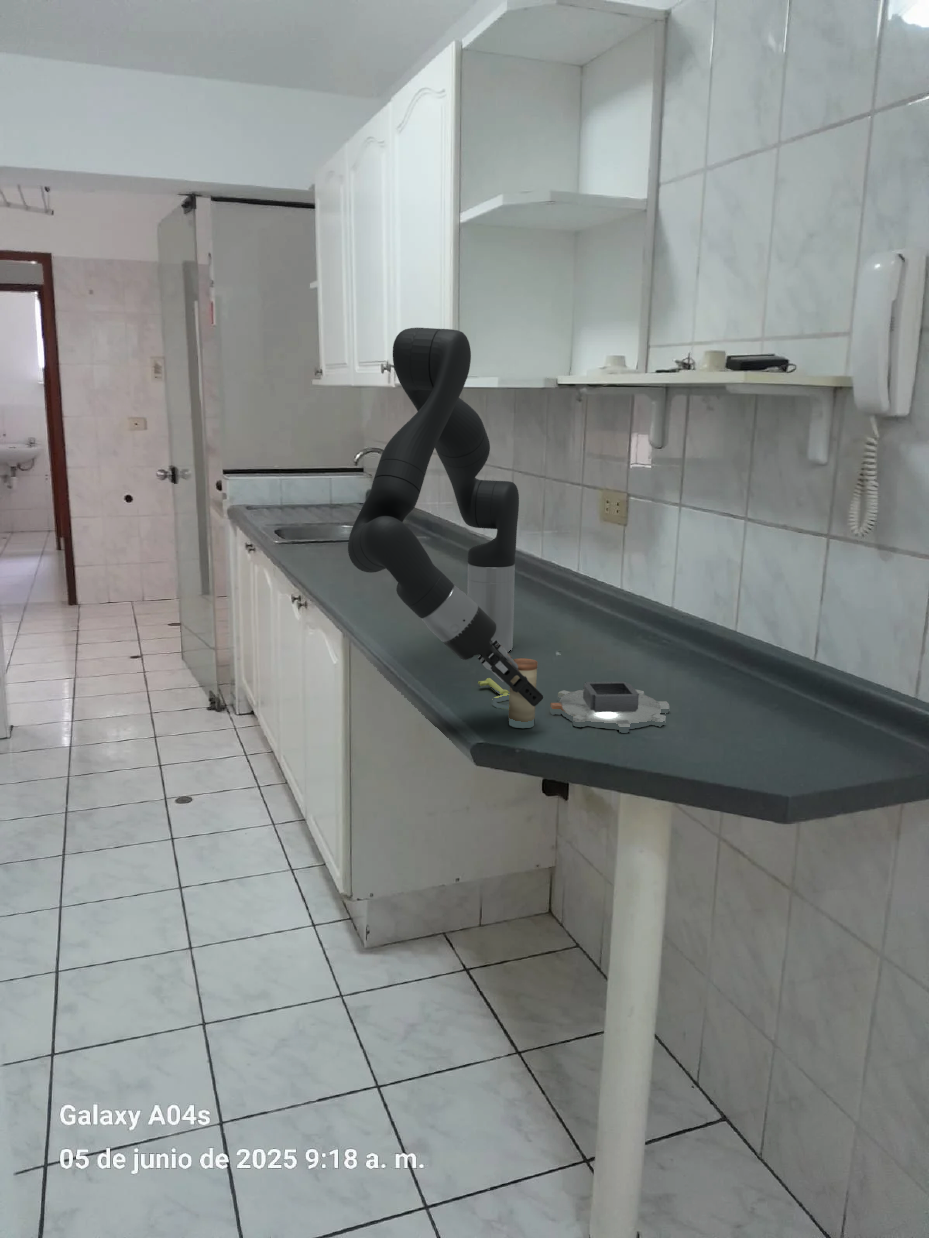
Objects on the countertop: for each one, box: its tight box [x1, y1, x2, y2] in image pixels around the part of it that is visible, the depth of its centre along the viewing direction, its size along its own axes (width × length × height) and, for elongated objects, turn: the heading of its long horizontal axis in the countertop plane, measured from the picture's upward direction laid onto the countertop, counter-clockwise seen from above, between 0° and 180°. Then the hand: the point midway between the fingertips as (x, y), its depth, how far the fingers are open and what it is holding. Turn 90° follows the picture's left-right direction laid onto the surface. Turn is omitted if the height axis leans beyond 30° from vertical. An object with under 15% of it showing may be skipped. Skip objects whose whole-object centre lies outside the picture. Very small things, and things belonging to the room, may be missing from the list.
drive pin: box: [508, 657, 539, 722], centre depth 145 cm, size 4×4×10 cm
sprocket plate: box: [549, 681, 670, 727], centre depth 151 cm, size 19×19×4 cm
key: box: [477, 677, 510, 698], centre depth 158 cm, size 7×12×2 cm, turn 42°
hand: (533, 694), depth 145 cm, fingers open, 5 cm apart
